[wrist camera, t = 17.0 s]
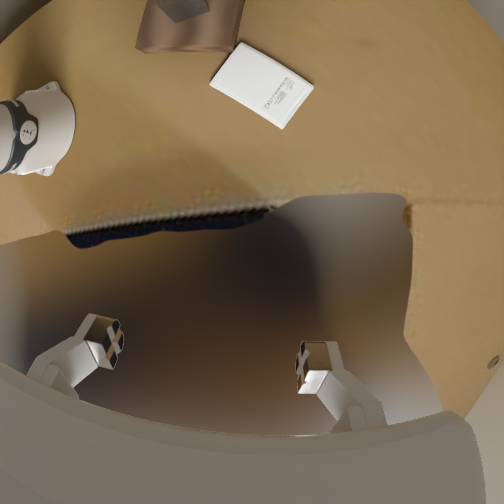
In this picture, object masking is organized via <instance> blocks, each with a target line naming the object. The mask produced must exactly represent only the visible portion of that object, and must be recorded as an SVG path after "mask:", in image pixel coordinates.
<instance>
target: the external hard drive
mask: <svg viewBox="0 0 504 504" xmlns="http://www.w3.org/2000/svg"><path fill="white" fill-rule="evenodd" d="M209 85H210V86H212V87H214V88H216V89H217V90H219V91H221V92H223V93H225V94H226V95H228V96H230V97H231V98H233V99H235V100H237V101H238V102H240V103H242V104H243V105H245V106H247V107H248V108H250V109H251V110H253V111H255V112H256V113H258V114H259V115H261V116H263V117H264V118H266V119H267V120H269V121H270V122H272V123H273V124H275V125H276V126H278V127H279V128H281V129H283V128H284V126H285V125H286V124H287V122H288V121H289V120H290V118H291V117H292V116H293V114H294V113H295V112H296V110H297V109H298V108H299V106H300V105H301V104H302V102H303V101H304V100H305V99H306V97H307V96H308V95H309V93H310V92H311V91H312V90H313V88H314V86H313V85H312V84H310V83H309V82H307V81H306V80H304V79H303V78H302V77H300V76H299V75H297V74H296V73H294V72H293V71H291V70H289V69H288V68H286V67H285V66H283V65H281V64H280V63H278V62H277V61H275V60H273V59H272V58H270V57H268V56H266V55H265V54H263V53H261V52H259V51H258V50H256V49H254V48H252V47H250V46H248V45H246V44H244V43H242V42H241V43H240V44H239V45H238V46H237V48H236V49H235V50H234V51H233V53H232V54H231V55H230V56H229V58H228V59H227V60H226V62H225V63H224V64H223V66H222V67H221V68H220V70H219V71H218V72H217V74H216V75H215V77H214V78H213V79H212V81H211V82H210V84H209Z"/></svg>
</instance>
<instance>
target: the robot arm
mask: <svg viewBox="0 0 504 504" xmlns="http://www.w3.org/2000/svg"><path fill="white" fill-rule="evenodd" d="M74 129H75V114H74V109H73V106H72V103H71V101H70V100H69V98H68V97H67V96H66V95H65V94H64V93H63V92H62V91H61V89H60V86H59V84H58V82H57V81H52V82H50V83H48V84H46V85H44V86H42V87H41V88H39V89H37V90H30V91H25V93H24V94H22V95H20V96H19V97H18V98H17V99H16V100H5V101H1V102H0V174H5V173H8V172H10V173H17V174H19V175H20V174H22V175H25V174H28V173H32V172H35V173H38V174H41V175H44V176H50V175H52V173H53V171H54V169H55V167H56V164H57V163H58V162H59V161H60V160H61V159H62V158H63V156H64V155H65V154H66V152H67V151H68V149H69V147H70V145H71V142H72V139H73V135H74ZM119 327H120V323H119V321H118V320H115V319H111V318H107V317H103V316H99V315H94V314H88V315H87V317H86V318H85V320H84V321H83V323H82V325H81V326H80V328H79V329H78V331H77V333H76V334H75V336H74V337H70V338H68V339H66V340H65V341H63V342H62V343H60V344H58V345H56V346H54V347H53V348H51V349H49V350H48V351H46V352H44V353H43V354H41V355H39V356H37V357H36V359H35V361H34V362H33V364H32V366H31V368H30V369H29V371H28V373H27V375H26V376H25V375H23V374H21V373H19V372H18V371H16V370H14V369H12V368H10V367H9V366H7V365H5V364H3V363H2V362H0V504H486V493H485V482H484V474H483V467H482V462H481V457H480V453H479V448H478V445H477V441H476V437H475V434H474V432H473V429H472V427H471V426H470V424H468V423H467V422H466V421H465V420H464V419H463V418H461V417H460V416H459V415H458V414H456V413H455V412H453V411H449V410H448V411H443V412H440V413H437V414H433V415H430V416H426V417H423V418H419V419H415V420H411V421H407V422H403V423H397V424H393V425H388V426H387V423H386V419H385V415H384V411H383V408H382V404H381V402H380V401H379V400H378V399H377V398H376V397H375V396H374V395H373V394H372V393H371V392H369V391H368V390H367V389H366V388H365V387H364V386H363V385H362V384H361V383H360V382H359V381H358V380H357V379H356V378H355V377H354V376H352V374H351V373H350V372H348V371H344V367H343V363H342V359H341V355H340V352H339V348H338V344H337V343H336V342H324V341H303V342H302V344H301V346H300V348H301V351H300V352H299V353H298V355H297V358H296V373H297V374H298V375H299V378H298V380H297V385H298V393H306V394H317V396H318V397H319V398H320V400H321V401H322V402H323V403H324V405H325V406H326V407H327V408H328V410H329V411H330V412H331V414H332V415H333V416H334V417H335V419H336V420H337V423H336V424H335V425H334V426H333V427H332V428H331V429H330V430H329V434H317V435H298V436H297V435H293V436H268V435H244V434H231V433H220V432H211V431H203V430H196V429H189V428H183V427H178V426H172V425H166V424H162V423H157V422H153V421H148V420H144V419H140V418H136V417H132V416H128V415H124V414H121V413H118V412H114V411H111V410H108V409H104V408H101V407H99V406H95V405H93V404H90V403H87V402H84V401H82V400H79V399H78V398H79V397H78V394H77V393H76V392H75V390H74V389H73V387H74V386H75V385H77V384H78V383H79V382H80V381H81V380H83V379H84V378H85V377H86V376H87V375H88V374H90V373H91V372H92V371H93V370H95V369H96V368H97V367H98V366H100V367H104V368H108V369H114V367H115V364H116V362H117V359H118V358H117V355H116V354H118V353H119V352H121V350H122V348H123V343H124V336H123V333H122V332H121V330H119Z"/></svg>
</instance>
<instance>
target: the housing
mask: <svg viewBox="0 0 504 504" xmlns="http://www.w3.org/2000/svg"><path fill="white" fill-rule="evenodd" d="M151 1H152V2H154V3H155V4H156V5H157V6H158V7H159V8H160V9H161V10H162V11H163V12H164V13H165V14H166V15H167V16H168V17H169V18H171V19H172V20H173V21H174V22H175V23H178V22H181V21H183V20H186V19H189V18H192V17H195V16H198V15H201V14H204V13H207V12H210V10H209V7H208V4H207V1H206V0H151Z"/></svg>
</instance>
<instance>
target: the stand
mask: <svg viewBox="0 0 504 504" xmlns="http://www.w3.org/2000/svg"><path fill="white" fill-rule="evenodd" d="M206 1H207V4H208V7H209V10H210V12H207V13H204V14H201V15H198V16H195V17H192V18H189V19H186V20H183V21H181V22H178V23H175V22H174V21H173V20H172V19H171V18H169V17H168V16H167V15H166V14H165V13H164V12H163V11H162V10H161V9H160V8H159V7H158V6H157V5H156V4H155V3H154V2H152V1H151V0H148V1H147V4H146V7H145V11H144V14H143V18H142V22H141V25H140V29H139V33H138V38H137V42H136V46H135V48H136V49H138V50H140V51H142V52H144V53H159V52H223V53H233V51H234V50H235V46H236V41H237V36H238V31H239V26H240V21H241V16H242V11H243V7H244V2H245V0H206Z"/></svg>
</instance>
